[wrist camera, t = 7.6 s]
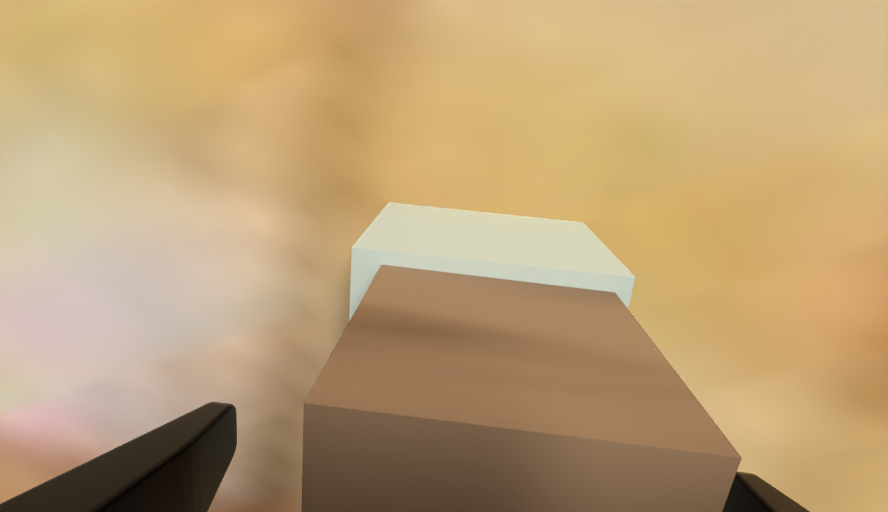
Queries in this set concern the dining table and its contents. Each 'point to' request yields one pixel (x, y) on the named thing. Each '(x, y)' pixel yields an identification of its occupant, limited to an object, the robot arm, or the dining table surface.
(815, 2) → the dining table surface
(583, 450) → the walnut block
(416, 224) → the sage block
